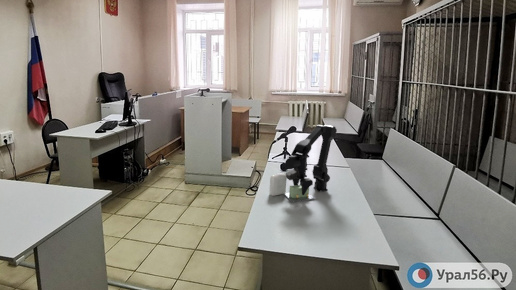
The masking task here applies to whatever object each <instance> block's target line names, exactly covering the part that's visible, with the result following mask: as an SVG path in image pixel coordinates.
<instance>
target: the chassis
mask: <svg viewBox="0 0 516 290" xmlns="http://www.w3.org/2000/svg"><path fill="white" fill-rule="evenodd" d="M283 196H284V197H285V198H286V199H287V200H288V201H290V202H291V203H298V202H306V201H307V202H308V201H315V197H314V196H313V195H311V194H310V192H309V193H307V195H306V197H298V194H297V195H296V198H292V197H291V196H290V195H289V192H285V193H284V194H283Z"/></svg>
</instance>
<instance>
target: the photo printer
mask: <svg viewBox="0 0 516 290" xmlns="http://www.w3.org/2000/svg"><path fill="white" fill-rule="evenodd" d="M286 190H287V177H286V173H283V172H282V173H281V172H280V173H279V172H278V173H275V174H273V175H271V176H270V178H269V191H268V192H269V195H270V196H272V197H274V196H278V195H279V196H280V195H284V193H287V192H286Z"/></svg>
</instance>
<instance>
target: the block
mask: <svg viewBox="0 0 516 290" xmlns="http://www.w3.org/2000/svg"><path fill="white" fill-rule="evenodd" d="M288 193H289V195H290V196H291V197H292V198H296V195H297V194H298V197H306V195H307V193H309V194H310V187H309V188H308V189H307V191H306V193H305V194H304V195H302V187H301V185H300V184H298V185H295V186H294V185H289V191H288Z"/></svg>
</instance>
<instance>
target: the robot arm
mask: <svg viewBox="0 0 516 290" xmlns="http://www.w3.org/2000/svg"><path fill="white" fill-rule="evenodd" d="M336 135H337V128H336V126H335V125H327V124H324V125H322V124H317V125H316V126H315V128H314V129H313V131H311V133H309V134H308V136H307V137H306V138H305V139H302V140H300V141H298V143H296V144H295V146H294V148H293V150H292V151H291V154H290V156H288V158H287V159H286V160H285V163H284V164H285V167H286V168H287V169H288V170H289V171H287V172H285V174H286V177H287V179H288V181H292V184H293V186H295V185H301V187H302V195H304V194H305V193H306V191H307V189H308V188H309V189H310V187H311V186H313V184H314V186H313V189H314V190H316V191H317V192H325V191H328V189H327V187H328V183H329V182H330V180H331V176H330V175H329V174H328V172H329V169H328V166H327V162H328V158H329V153H330V149H331V148H330V147H331V143H332V141H333V140H334V139H335V138H336ZM320 137H321V138H322V142H321V147H320V151H319V156H318V161H317V164H315V165H313V169H312V171H311V172H312V177H313V179H315V181H313V179H311V178H309V177H308V175H307V173H306V172H307V171H308V167H307V162H308V161H307V159H308V158H310V155H309V153H310V152H311V150H312V146H313V144H314V143H315V142H316V141H317V140H318V139H319V138H320ZM287 179H286V180H287Z"/></svg>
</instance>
